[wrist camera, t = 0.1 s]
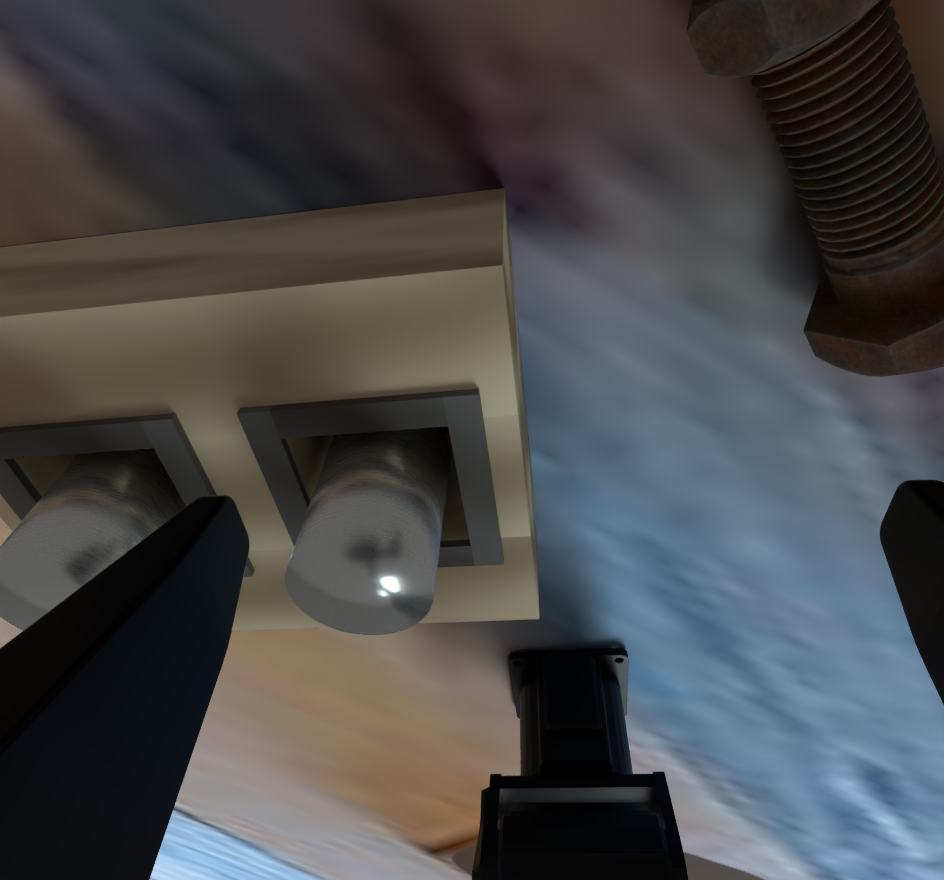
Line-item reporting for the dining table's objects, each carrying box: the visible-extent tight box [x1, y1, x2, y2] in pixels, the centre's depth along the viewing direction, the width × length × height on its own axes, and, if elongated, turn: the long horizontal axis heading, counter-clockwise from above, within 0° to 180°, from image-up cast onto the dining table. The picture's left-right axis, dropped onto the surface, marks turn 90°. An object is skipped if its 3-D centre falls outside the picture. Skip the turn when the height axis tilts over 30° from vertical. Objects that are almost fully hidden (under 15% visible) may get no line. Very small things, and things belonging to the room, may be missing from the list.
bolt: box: [687, 0, 944, 377], centre depth 17 cm, size 6×5×15 cm
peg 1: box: [0, 448, 186, 631], centre depth 21 cm, size 4×4×6 cm
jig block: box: [0, 188, 540, 631], centre depth 23 cm, size 14×18×6 cm
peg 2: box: [285, 427, 450, 635], centre depth 20 cm, size 4×4×6 cm
